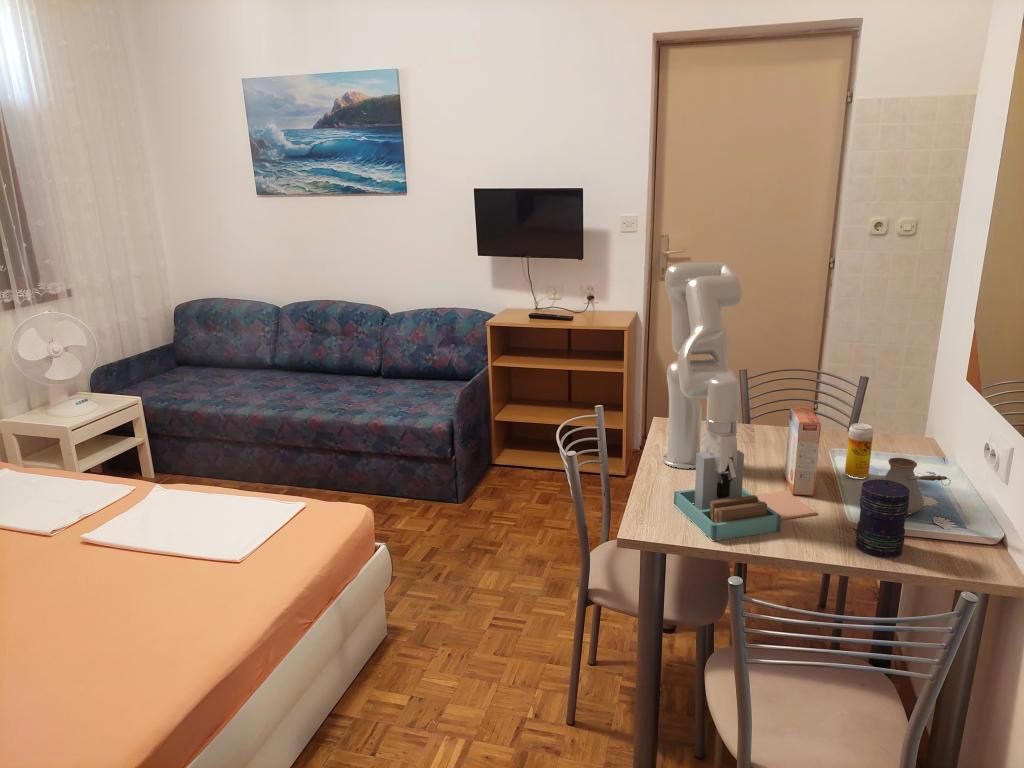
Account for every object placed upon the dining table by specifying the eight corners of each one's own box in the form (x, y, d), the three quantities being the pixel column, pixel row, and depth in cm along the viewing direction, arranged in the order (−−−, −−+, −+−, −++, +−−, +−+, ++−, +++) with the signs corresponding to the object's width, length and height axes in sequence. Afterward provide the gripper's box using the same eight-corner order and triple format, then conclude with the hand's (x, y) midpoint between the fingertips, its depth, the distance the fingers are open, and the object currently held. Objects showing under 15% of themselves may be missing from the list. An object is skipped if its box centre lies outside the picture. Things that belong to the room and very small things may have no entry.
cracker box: (815, 496, 195) (822, 422, 189) (791, 495, 196) (797, 421, 191) (806, 476, 208) (812, 406, 203) (784, 475, 209) (789, 405, 204)
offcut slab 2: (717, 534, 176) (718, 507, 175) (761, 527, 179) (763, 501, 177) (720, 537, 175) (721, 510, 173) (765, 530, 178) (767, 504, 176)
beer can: (857, 482, 203) (862, 431, 199) (839, 474, 209) (844, 424, 205) (873, 478, 206) (878, 427, 202) (855, 470, 211) (860, 421, 207)
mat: (741, 498, 195) (741, 496, 195) (784, 492, 198) (784, 490, 198) (771, 521, 182) (771, 519, 182) (817, 514, 185) (817, 512, 185)
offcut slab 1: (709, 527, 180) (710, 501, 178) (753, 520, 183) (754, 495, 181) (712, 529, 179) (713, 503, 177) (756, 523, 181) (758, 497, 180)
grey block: (694, 511, 189) (696, 453, 184) (732, 505, 191) (735, 448, 187) (701, 517, 185) (704, 458, 181) (740, 512, 187) (744, 453, 183)
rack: (673, 505, 192) (674, 491, 191) (735, 497, 196) (736, 483, 195) (712, 541, 173) (712, 525, 172) (779, 531, 177) (781, 515, 176)
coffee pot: (862, 501, 191) (868, 447, 187) (903, 498, 193) (909, 444, 189) (916, 539, 171) (924, 480, 167) (961, 535, 172) (970, 476, 168)
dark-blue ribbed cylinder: (901, 562, 161) (909, 500, 157) (853, 552, 166) (859, 492, 162) (903, 543, 169) (911, 483, 165) (857, 534, 174) (863, 476, 170)
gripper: (692, 417, 189) (689, 482, 194) (725, 437, 173) (721, 508, 178) (718, 414, 190) (715, 479, 195) (753, 434, 175) (749, 504, 180)
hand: (718, 492), depth 187 cm, fingers closed on grey block, 4 cm apart
